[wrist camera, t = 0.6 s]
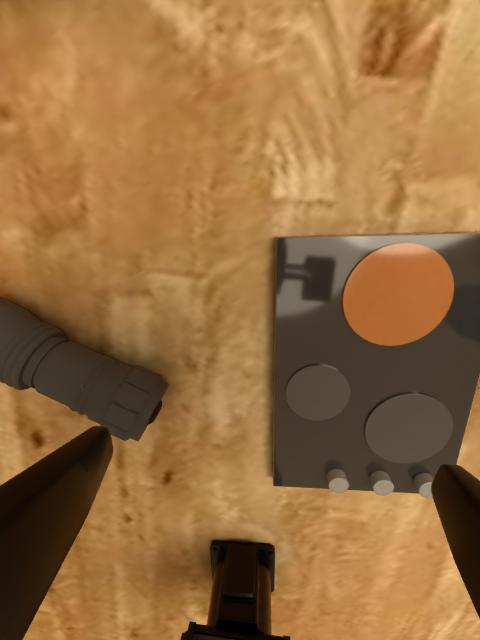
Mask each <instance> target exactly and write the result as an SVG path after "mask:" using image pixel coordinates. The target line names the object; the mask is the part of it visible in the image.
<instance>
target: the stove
mask: <svg viewBox="0 0 480 640" xmlns="http://www.w3.org/2000/svg"><path fill="white" fill-rule="evenodd" d="M479 374H480V232H446V233H404V234H362V235H320V236H278V237H276V262H275V346H274V430H273V486H285V487H304V488H323V489H330V490H331V491H333V492H335V493H343V492H345V491H346V490H362V491H374V492H375V493H376V494H378V495H388V494H390V493H391V492H401V493H420V495H422V496H423V497H426V498H431V497H433V496H432V493H431V485H432V482H433V480H434V478H435V475H436V473H437V471H438V469H439V467H440V466H441V465H442V464H451V465H456V463H457V459H458V455H459V452H460V448H461V444H462V440H463V436H464V432H465V428H466V425H467V421H468V417H469V413H470V409H471V405H472V401H473V397H474V394H475V390H476V386H477V382H478V378H479Z"/></svg>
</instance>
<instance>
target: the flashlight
mask: <svg viewBox="0 0 480 640" xmlns="http://www.w3.org/2000/svg"><path fill="white" fill-rule="evenodd" d="M0 382H2V383H6V384H7V385H8V386H11V387H14V388H15V389H18V390H24V389H28V388H30V387H32V388H35V389H36V391H37V392H38V393H41V394H43V395H45V396H47V397H49V398H51V399H54V400H56V401H58V402H60V403H62V404H65V405H67V406H69V408H70V409H71V410H72V411H78V413H79V414H81V415H82V414H86V415H88V419H90V420H92V421H94V422H97V423H99V424H101V425H100V426H102V427H108V428H109V429H110V432H111V435H113V436H115V437H117V438H120V439H122V440H124V441H126V440H128V439H130V438H131V439H134V440H136V441H139V439H140V438H141V436H142V434H143V433H144V431H145V429H146V427H147V425H148V424H151V423H152V422H153V421H154V420H155V419H156V417H157V415H158V413H159V411H160V409H161V406H162V401H161V399H162V397H163V395H164V393H165V391H166V389H167V386H168V384H167V383H165V382H163V381H162V380H161V376H160V375H158V374H156V373H153V372H151V371H149V370H147V369H145V368H143V367H141V366H137V367H132V366H130V365H128V364H126V363H124V362H122V363H118V362H117V361H116V359H111V358H110V357H109V356H108V355H101V354H99V353H97V352H95V351H93V350H91V349H88V348H86V347H84V346H82V345H80V344H78V343H76V342H74V341H68V340H66V337H65V334H64V332H63V331H62V330H61V329H57V328H56V327H55V326H52V325H50V324H48V323H46V322H41V321H40V320H39V319H38V318H37V317H35V316H34V315H33V314H32V313H31V312H29V311H28V310H26V309H24V308H22V307H20V306H18V305H16V304H14V303H12V302H10V301H8V300H6V299H3V298H1V297H0Z"/></svg>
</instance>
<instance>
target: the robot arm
mask: <svg viewBox="0 0 480 640" xmlns="http://www.w3.org/2000/svg"><path fill="white" fill-rule="evenodd" d="M112 455H113V444H112V438H111V432H110V429H109V428H108V427H102V426H94V427H91V428H90V429H88V430H87V431H85V432H84V433H82V434H80V435H79V436H77V437H76V438H74V439H73V440H71V441H69V442H68V443H66V444H65V445H63V446H62V447H60V448H59V449H57V450H55V451H54V452H52V453H51V454H49V455H48V456H46V457H44V458H43V459H41V460H40V461H38V462H37V463H35V464H34V465H32V466H30V467H29V468H27V469H26V470H24V471H23V472H21V473H19V474H18V475H16V476H15V477H13V478H12V479H10V480H9V481H7V482H5V483H4V484H2V485H1V486H0V640H22V639H23V638H24V636H25V634H26V632H27V630H28V628H29V626H30V624H31V622H32V620H33V619H34V617H35V615H36V613H37V611H38V609H39V607H40V605H41V603H42V601H43V599H44V598H45V596H46V594H47V592H48V590H49V588H50V586H51V584H52V582H53V580H54V579H55V577H56V575H57V573H58V571H59V569H60V567H61V565H62V563H63V561H64V559H65V558H66V556H67V554H68V552H69V550H70V548H71V546H72V544H73V542H74V540H75V539H76V537H77V535H78V533H79V531H80V529H81V527H82V525H83V523H84V521H85V519H86V517H87V515H88V513H89V511H90V509H91V506H92V504H93V502H94V499H95V497H96V494H97V492H98V489H99V487H100V485H101V482H102V480H103V477H104V475H105V472H106V470H107V468H108V465H109V463H110V460H111V458H112ZM431 493H432V496H433V499H434V502H435V505H436V508H437V511H438V514H439V517H440V520H441V523H442V526H443V529H444V532H445V535H446V538H447V541H448V544H449V547H450V549H451V552H452V555H453V558H454V560H455V563H456V565H457V568H458V570H459V572H460V575H461V577H462V579H463V582H464V584H465V586H466V589H467V591H468V593H469V595H470V598H471V600H472V602H473V605H474V607H475V609H476V611H477V614H478V616H479V618H480V481H479V480H478V479H477V478H475V477H474V476H473V475H472V474H470V473H469V472H468V471H466V470H465V469H464V468H462V467H461V466H458V465H451V464H442V465H441V466H440V467H439V469H438V471H437V473H436V475H435V478H434V480H433V482H432V485H431ZM210 552H211V564H212V576H213V586H212V593H211V599H210V606H209V613H208V620H207V625H200V624H196V622H190V623H189V627H188V630H187V631H186V632H184V633H182V636H181V640H290V636H284V635H283V637H281V636H274V635H271V592H273V591H274V569H275V548H274V547H273V546H272V545H263V544H249V543H234V542H220V541H213V542H212V543H211V547H210Z"/></svg>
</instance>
